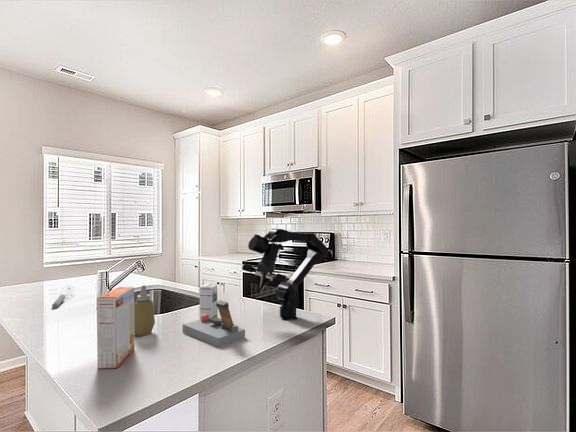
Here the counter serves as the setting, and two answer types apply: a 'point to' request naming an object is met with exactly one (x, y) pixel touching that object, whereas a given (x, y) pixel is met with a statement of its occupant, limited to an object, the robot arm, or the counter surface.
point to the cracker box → (115, 327)
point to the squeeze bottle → (143, 314)
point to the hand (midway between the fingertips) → (258, 293)
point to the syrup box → (208, 300)
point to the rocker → (215, 321)
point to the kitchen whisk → (60, 299)
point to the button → (204, 317)
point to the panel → (213, 332)
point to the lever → (225, 314)
